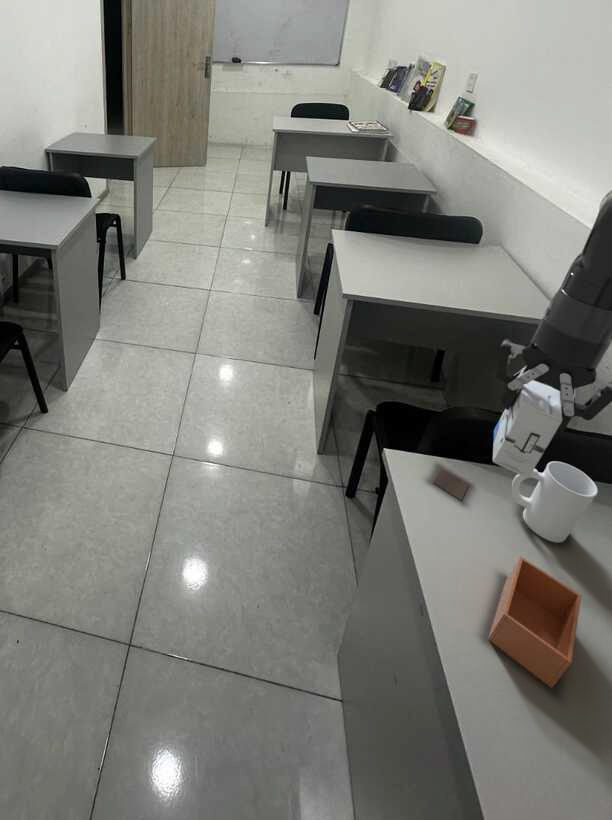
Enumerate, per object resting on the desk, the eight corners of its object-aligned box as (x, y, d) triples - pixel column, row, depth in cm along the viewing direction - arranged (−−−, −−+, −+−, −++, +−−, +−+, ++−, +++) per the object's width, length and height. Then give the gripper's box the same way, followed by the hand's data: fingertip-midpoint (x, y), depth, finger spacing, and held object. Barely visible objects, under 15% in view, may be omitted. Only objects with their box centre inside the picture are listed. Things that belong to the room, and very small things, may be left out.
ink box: (493, 428, 80) (521, 373, 75) (528, 444, 77) (559, 387, 73) (491, 462, 73) (521, 404, 68) (530, 480, 71) (564, 421, 66)
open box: (562, 622, 70) (581, 595, 68) (550, 689, 63) (571, 662, 60) (504, 582, 75) (520, 556, 72) (486, 640, 67) (503, 613, 65)
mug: (563, 521, 86) (592, 473, 81) (570, 553, 80) (602, 504, 75) (497, 493, 90) (522, 446, 85) (500, 521, 85) (526, 473, 80)
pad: (468, 486, 91) (469, 484, 91) (460, 502, 87) (461, 500, 87) (440, 469, 94) (440, 467, 94) (431, 484, 91) (432, 482, 90)
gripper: (648, 339, 64) (591, 433, 71) (521, 294, 73) (481, 381, 79) (648, 362, 59) (586, 461, 65) (512, 311, 67) (470, 403, 74)
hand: (529, 417), depth 72 cm, fingers closed on ink box, 5 cm apart
